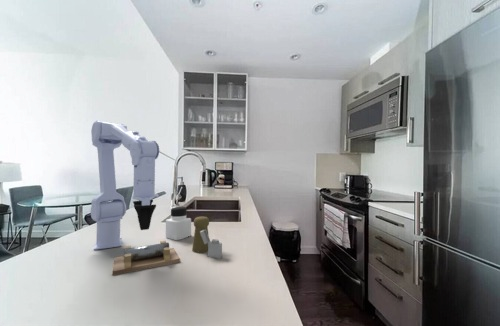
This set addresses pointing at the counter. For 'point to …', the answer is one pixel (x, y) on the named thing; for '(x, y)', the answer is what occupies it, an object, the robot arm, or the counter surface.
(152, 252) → the tube
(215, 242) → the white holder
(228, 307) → the counter surface
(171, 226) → the medicine bottle
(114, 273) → the stand
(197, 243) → the cork
